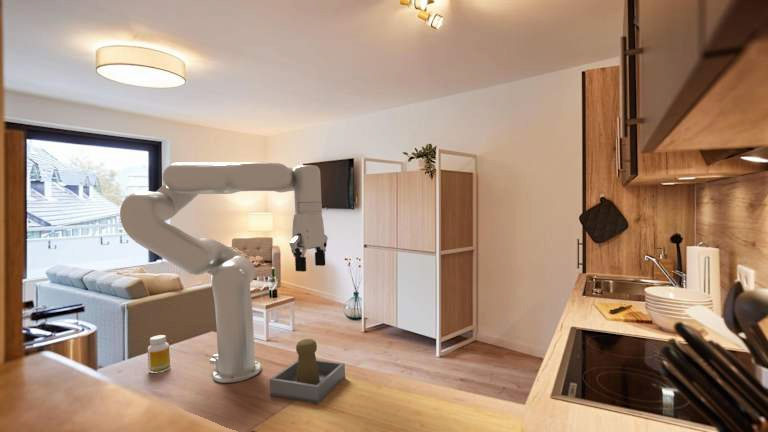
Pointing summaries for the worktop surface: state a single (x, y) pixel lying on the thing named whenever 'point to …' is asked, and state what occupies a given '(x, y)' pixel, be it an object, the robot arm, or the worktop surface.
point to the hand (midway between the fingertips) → (311, 268)
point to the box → (290, 389)
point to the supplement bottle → (158, 354)
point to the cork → (307, 362)
